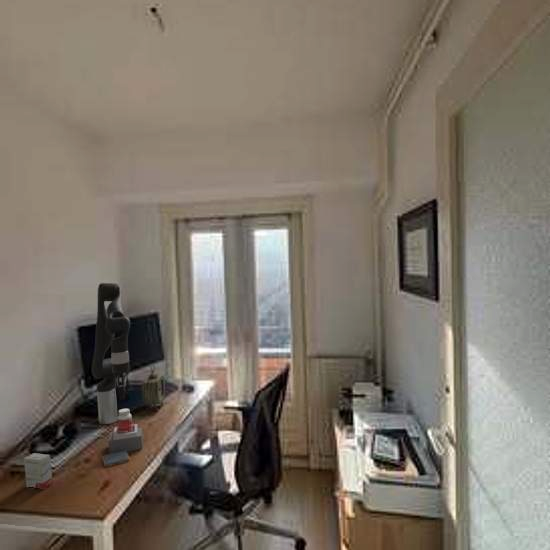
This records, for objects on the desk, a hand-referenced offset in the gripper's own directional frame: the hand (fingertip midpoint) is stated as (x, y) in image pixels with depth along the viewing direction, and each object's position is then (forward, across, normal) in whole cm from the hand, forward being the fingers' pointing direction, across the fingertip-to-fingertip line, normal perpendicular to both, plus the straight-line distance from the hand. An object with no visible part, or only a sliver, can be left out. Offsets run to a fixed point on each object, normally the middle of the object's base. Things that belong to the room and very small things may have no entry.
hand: (122, 396), depth 198 cm
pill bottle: (+18, 0, 0) cm, 18 cm away
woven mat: (+24, -12, +4) cm, 27 cm away
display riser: (+24, 0, 0) cm, 24 cm away
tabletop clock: (+24, +47, -13) cm, 54 cm away
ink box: (+24, -23, +31) cm, 45 cm away
